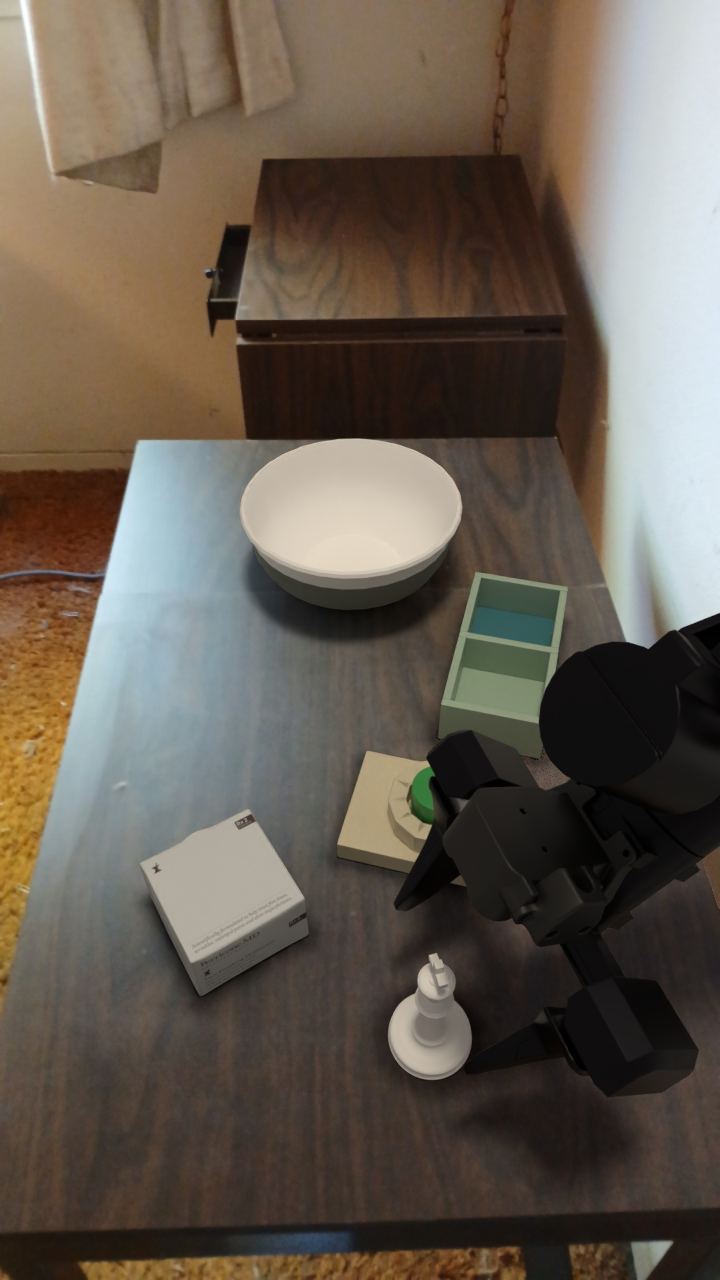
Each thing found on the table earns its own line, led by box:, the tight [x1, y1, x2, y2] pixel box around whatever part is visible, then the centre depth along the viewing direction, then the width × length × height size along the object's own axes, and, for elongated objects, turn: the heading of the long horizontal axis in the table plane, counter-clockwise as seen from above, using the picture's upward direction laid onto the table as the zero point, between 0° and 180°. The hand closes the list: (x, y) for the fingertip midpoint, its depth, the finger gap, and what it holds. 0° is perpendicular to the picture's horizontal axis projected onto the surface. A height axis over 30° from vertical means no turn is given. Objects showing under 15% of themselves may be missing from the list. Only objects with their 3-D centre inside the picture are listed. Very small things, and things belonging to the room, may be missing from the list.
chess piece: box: [387, 952, 473, 1081], centre depth 49 cm, size 5×5×10 cm
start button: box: [411, 767, 435, 824], centre depth 59 cm, size 4×4×2 cm
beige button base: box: [336, 750, 467, 888], centre depth 61 cm, size 9×8×4 cm
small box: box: [138, 808, 310, 997], centre depth 56 cm, size 8×8×5 cm
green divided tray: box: [437, 571, 569, 760], centre depth 70 cm, size 15×8×4 cm, turn 165°
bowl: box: [239, 438, 463, 611], centre depth 77 cm, size 19×19×8 cm
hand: (431, 984), depth 47 cm, fingers open, 9 cm apart
